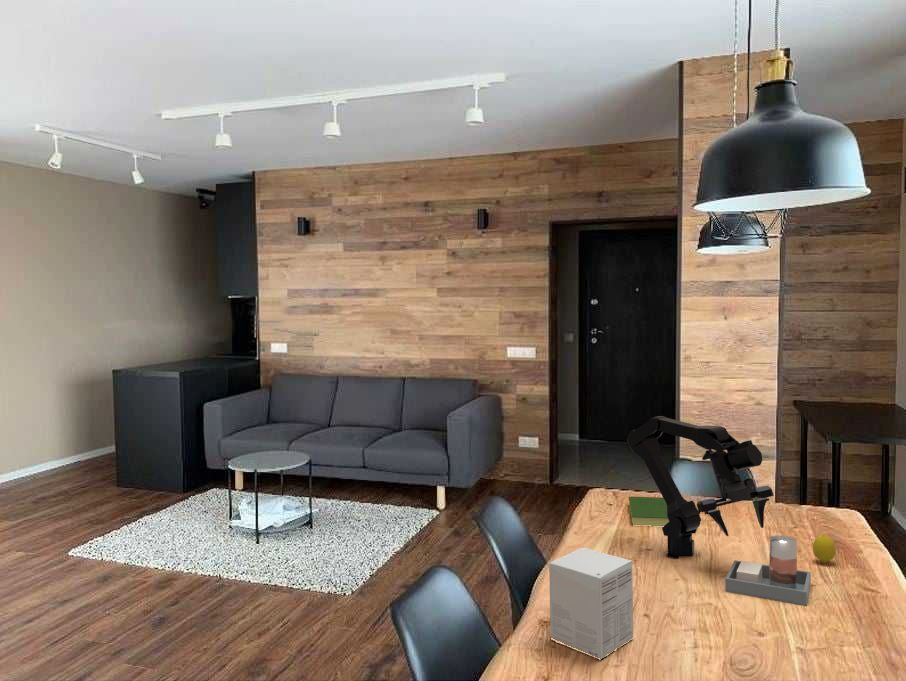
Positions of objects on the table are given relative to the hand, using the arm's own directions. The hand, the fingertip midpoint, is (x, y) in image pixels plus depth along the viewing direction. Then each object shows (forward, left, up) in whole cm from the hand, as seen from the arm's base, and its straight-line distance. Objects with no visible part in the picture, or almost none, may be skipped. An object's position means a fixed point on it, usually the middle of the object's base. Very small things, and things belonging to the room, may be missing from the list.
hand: (744, 531), depth 183 cm
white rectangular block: (+2, -6, -11) cm, 13 cm away
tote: (+6, -7, -12) cm, 15 cm away
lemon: (+17, +20, -12) cm, 30 cm away
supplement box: (-24, -52, -12) cm, 58 cm away
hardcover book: (-34, +43, -13) cm, 56 cm away
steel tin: (+10, -8, -11) cm, 17 cm away
